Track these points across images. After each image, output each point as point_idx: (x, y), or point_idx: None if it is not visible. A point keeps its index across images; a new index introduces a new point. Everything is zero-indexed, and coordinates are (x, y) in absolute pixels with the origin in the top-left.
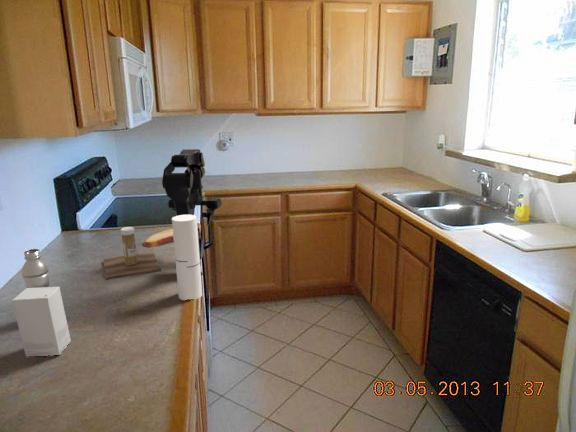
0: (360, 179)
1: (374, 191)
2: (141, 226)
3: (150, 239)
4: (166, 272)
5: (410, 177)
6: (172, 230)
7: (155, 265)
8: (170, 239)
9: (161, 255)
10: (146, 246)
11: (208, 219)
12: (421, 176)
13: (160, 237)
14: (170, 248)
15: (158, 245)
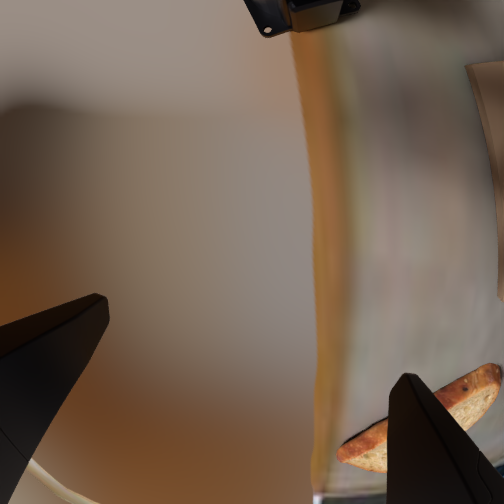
0: (72, 495)
1: (33, 460)
2: None
3: (479, 407)
4: (433, 33)
5: (27, 468)
6: None
7: (499, 108)
8: None
9: (472, 277)
10: (498, 368)
11: (28, 326)
12: None
13: None
14: (426, 353)
15: (461, 378)
